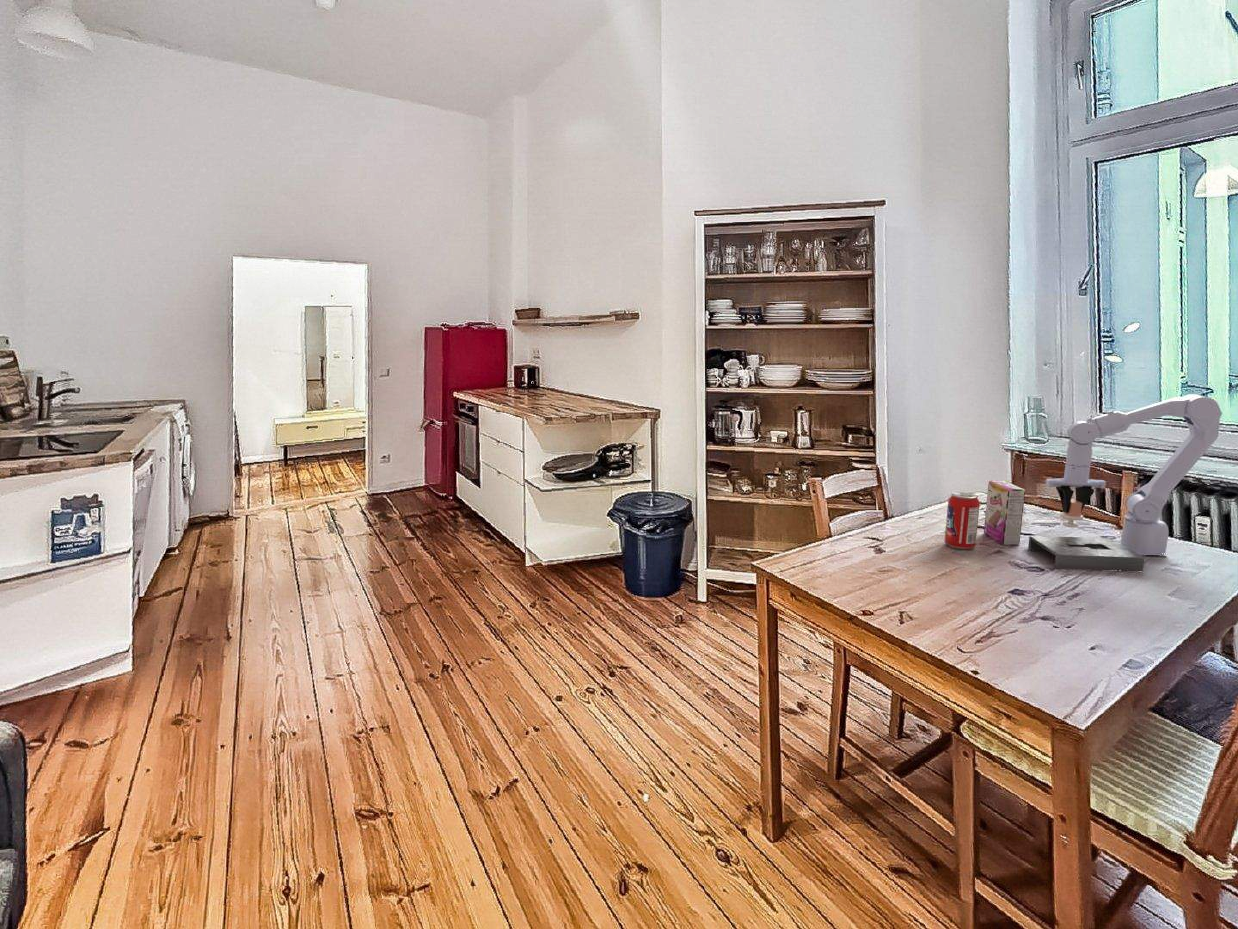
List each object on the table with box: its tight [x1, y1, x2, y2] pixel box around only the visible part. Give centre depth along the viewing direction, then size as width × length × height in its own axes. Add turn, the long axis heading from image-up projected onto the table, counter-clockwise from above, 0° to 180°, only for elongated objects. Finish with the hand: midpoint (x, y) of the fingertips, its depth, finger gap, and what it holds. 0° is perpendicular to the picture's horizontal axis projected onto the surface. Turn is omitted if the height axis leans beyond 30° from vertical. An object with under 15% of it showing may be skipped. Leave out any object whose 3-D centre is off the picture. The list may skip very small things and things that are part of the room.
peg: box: [1059, 498, 1084, 529], centre depth 188 cm, size 5×5×7 cm
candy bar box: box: [983, 480, 1026, 546], centre depth 193 cm, size 11×5×16 cm, turn 179°
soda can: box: [943, 491, 981, 551], centre depth 187 cm, size 8×8×15 cm
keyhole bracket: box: [1027, 535, 1146, 572], centre depth 176 cm, size 20×16×4 cm
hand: (1071, 512), depth 188 cm, fingers closed on peg, 3 cm apart
